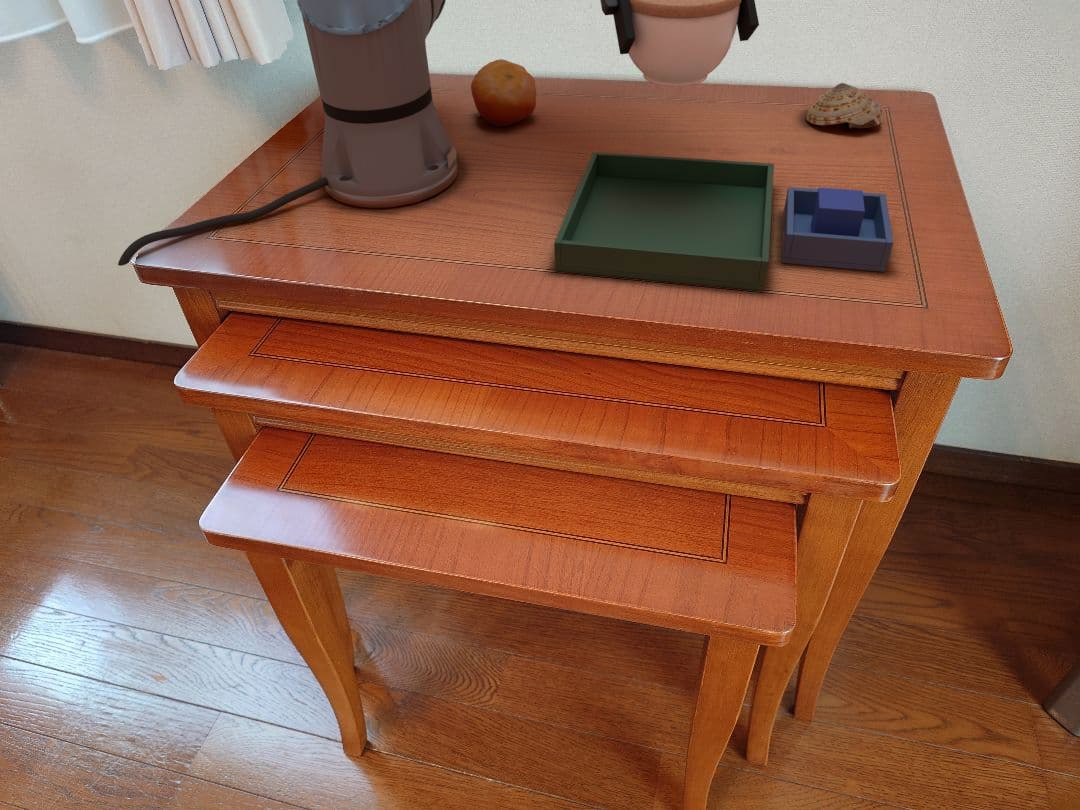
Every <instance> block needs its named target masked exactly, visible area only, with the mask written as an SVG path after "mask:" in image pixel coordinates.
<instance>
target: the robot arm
mask: <svg viewBox="0 0 1080 810" xmlns="http://www.w3.org/2000/svg"><path fill="white" fill-rule="evenodd" d="M599 1H600V8H601V11H602V13H603V14H604V16H613V21H614V28H615V33H616V39H617V44H618V50H619V55H629V54H628V53H629V51H630V49H631V47H632V44H633V42H634V40H635V33H634V28H633V22H632V17H631V11H630V5H629V0H599ZM296 4H297V6H298V8H299V11H300V13H301V17H302V22H303V27H304V30H305V36H306V40H307V44H308V48H309V52H310V56H311V61H312V65H313V69H314V73H315V78H316V83H317V86H318V91H319V95H320V99H321V104H322V108H323V113H324V129H323V136H322V137H323V139H322V148H321V157H320V159H321V160H320V172H321V173H320V174H321V178H320V179H317V180H314V181H313V182H311V183H308V184H306V185H304V186H302V187H299V188H297V189H295V190H293V191H291V192H288V193H286V194H284V195H283V196H280V197H279V198H277V199H275V200H273V201H271V202H269V203H267V204H265V205H263V206H260V207H257V208H255V209H253V210H250V211H249V210H248V211H246V212H241V213H233V214H226V215H221V216H218V217H213V218H209V219H206V220H201V221H198V222H195V223H192V224H188V225H184V226H180V227H175V228H174V227H173V228H168V229H162V230H158V231H154V232H151V233H148V234H145V235H143V236H141V237H139V238H138V239H136V240H134V241H133V242H132V243H130V244H129V246H127V248H126V249H125V250H124V251H123V253H122V254H121V256H120V258H119V260H118V262H117V266H118V267H120V266H121V267H122V266H125V265H127V264H129V263H130V261H131V260H132V259H133V257H134V256H135V255H136V254H137V252H139V251H140V250H141V249H143V248H144V247H145V246H148V245H149V244H152V243H154V242H155V243H156V242H158V241H162V240H167V239H173V238H177V237H183V236H187V235H191V234H192V235H193V234H195V233H198V232H201V231H204V230H208V229H212V228H216V227H220V226H225V225H230V224H236V223H243V222H249V221H253V220H256V219H259V218H261V217H264V216H266V215H268V214H270V213H272V212H275V211H277V210H278V209H281V208H282V207H284V206H285V205H288V204H290V203H292V202H293V201H296V200H298V199H300V198H302V197H305V196H306V195H310V194H311V193H314V192H315V191H318V190H320V189H324V190H325V192H326V193H327V194H328V196H330V197H331V198H333V199H334V200H336V201H338V202H339V203H340V202H341V203H343V204H345V205H349V206H355V207H360V208H369V209H370V208H371V209H373V208H375V209H377V208H379V209H380V208H382V209H383V208H393V207H401V206H407V205H411V204H414V203H418V202H422V201H424V200H427V199H429V198H432V197H434V196H435V195H438V194H440V193H442V192H443V191H445V190H446V189H447V188H448V187H450V186H451V185H452V184H453V182H454V181H455V180H456V178H457V175H458V172H459V170H458V169H459V168H458V159H457V148H456V144H454V145H453V143H452V141H451V138H450V137H449V135H448V133H447V130H446V128H445V126H444V124H443V122H442V119H441V117H440V115H439V113H438V111H437V109H436V107H435V104H434V99H433V92H432V86H431V78H430V77H431V76H430V70H429V61H428V54H427V45H426V44H427V43H426V39H427V37H428V35H429V33H430V32H431V30H432V28H433V26H434V24H435V22H436V21H437V20H438V19H439V17H440V15H441V14H442V12H443V9H444V7H445V5H446V0H296ZM756 6H757V5H756V0H741V3H740V8H739V15H738V21H737V26H736V28H737V32H738V33H737V34H738V36H739V42H745V41H749V39H750V38H751V37H752V35H753V34H754V33H755V32H756V30H757V29H758V27H759V26H760V22H759V17H758V11H757V7H756Z"/></svg>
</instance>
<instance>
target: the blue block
mask: <svg viewBox="0 0 1080 810" xmlns="http://www.w3.org/2000/svg"><path fill="white" fill-rule="evenodd" d="M817 189H818V193H817V198H816V202H815V207H814V212H813V217H812V221H811V233H818V234H830V235H843V236H855V237H858V236H859V232H860V228H861V225H862V221H863V217H864V213H865V208H864V199H863V193H864V191H863V190H859V189H846V188H845V189H844V188H832V187H831V188H830V187H818V188H817Z"/></svg>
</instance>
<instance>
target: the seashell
mask: <svg viewBox="0 0 1080 810" xmlns="http://www.w3.org/2000/svg"><path fill="white" fill-rule="evenodd" d="M805 119H806V121H807V122H808V123H810V124H813V125H816V126H817V125H818V126H828V125H830V126H831V125H839V124H845V123H848V125H847V127H848V128H849V129H853V128H854V129H855V128H857V129H866V128H872V127H877V126H879V125H880V124H881V123H882V122H883V119H884V112H883V110H882V107H881V106H880V104H879V103H878V102H877V101H875V100H874V99H872V98H871V97H869V95H867V93H865V92H863V91H862V89H860V88H858V87H856V86H852V85H850V84H847V83H844V82H840V83H838V84H836V85H835V86H833V87H831V88H830V89H828V90H827V91H826V92H824V93H823V94H822V95H820V96H819V97H818V98H817V100H816V101H815V102H813V104H811V106H810V107H809V108H808V110H807V113H806V116H805Z"/></svg>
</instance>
